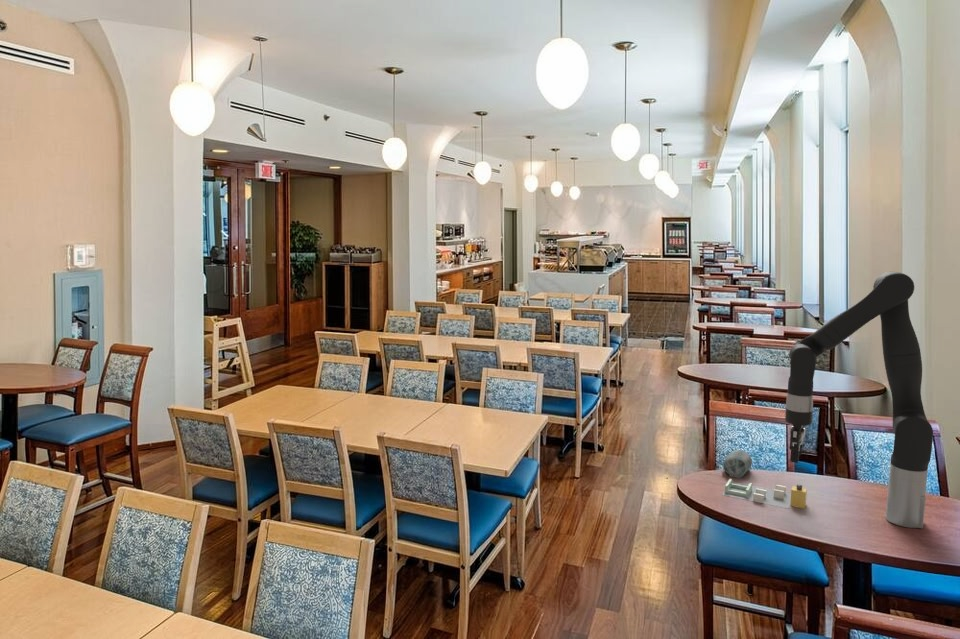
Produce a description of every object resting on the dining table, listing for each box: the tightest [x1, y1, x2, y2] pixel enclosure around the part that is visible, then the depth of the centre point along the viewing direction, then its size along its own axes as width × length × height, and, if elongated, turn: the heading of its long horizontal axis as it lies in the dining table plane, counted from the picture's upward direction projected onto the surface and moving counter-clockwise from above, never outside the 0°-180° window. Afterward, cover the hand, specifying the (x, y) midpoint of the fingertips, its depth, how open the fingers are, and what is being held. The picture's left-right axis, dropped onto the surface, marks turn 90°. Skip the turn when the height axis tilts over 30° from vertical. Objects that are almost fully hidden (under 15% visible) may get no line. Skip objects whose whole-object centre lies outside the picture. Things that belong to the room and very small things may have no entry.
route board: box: [721, 481, 791, 510], centre depth 209 cm, size 20×14×1 cm
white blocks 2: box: [773, 484, 787, 499], centre depth 208 cm, size 3×6×2 cm, turn 148°
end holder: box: [724, 478, 753, 497], centre depth 211 cm, size 7×7×2 cm
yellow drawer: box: [790, 484, 808, 509], centre depth 201 cm, size 4×4×7 cm
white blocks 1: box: [752, 488, 766, 504], centre depth 205 cm, size 3×6×2 cm, turn 148°
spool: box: [722, 449, 753, 479], centre depth 229 cm, size 14×10×10 cm
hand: (796, 458), depth 201 cm, fingers open, 8 cm apart
